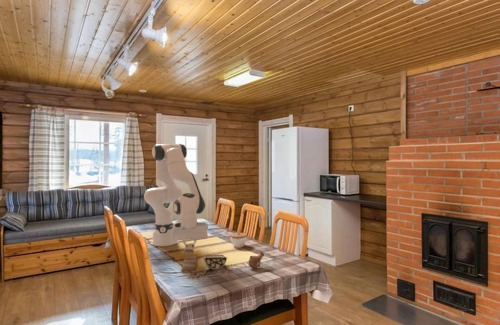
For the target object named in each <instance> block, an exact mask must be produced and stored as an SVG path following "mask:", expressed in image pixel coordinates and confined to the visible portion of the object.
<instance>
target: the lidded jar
mask: <svg viewBox="0 0 500 325" xmlns="http://www.w3.org/2000/svg"><path fill="white" fill-rule="evenodd" d="M247 236H248V235H247V233H245V232H239V231H238V232H234V233H231V234H230V242H231V245H232V246H233V247H234V248H238V249H239V248H243V247H244V246H245V245H246V243H247Z"/></svg>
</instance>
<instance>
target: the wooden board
mask: <svg viewBox="0 0 500 325" xmlns="http://www.w3.org/2000/svg"><path fill="white" fill-rule="evenodd" d="M197 259H198V257H197V256H185V257H184V259H183V263H182V266H181V270H180V271H181V272H192V271H196V265H197Z"/></svg>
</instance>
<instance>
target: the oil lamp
mask: <svg viewBox="0 0 500 325" xmlns="http://www.w3.org/2000/svg"><path fill="white" fill-rule="evenodd" d="M263 257H265V254H264V252H263V251H260V252H259V254H257V255H250V256H249V260H248V266H249V267H250V268H251V269H257V268H259V267H261V260H262V258H263Z"/></svg>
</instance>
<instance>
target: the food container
mask: <svg viewBox="0 0 500 325" xmlns="http://www.w3.org/2000/svg"><path fill="white" fill-rule="evenodd" d="M227 259H228V256H227V257H226V256H225V255H224V254H206V255H205V256H204V257H203V261H204V263H205V265H206V267H207V268H209V269H211V270H218V269H219V270H220V269H221V268H223V267H224V266H225V265H226V264H227Z"/></svg>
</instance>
